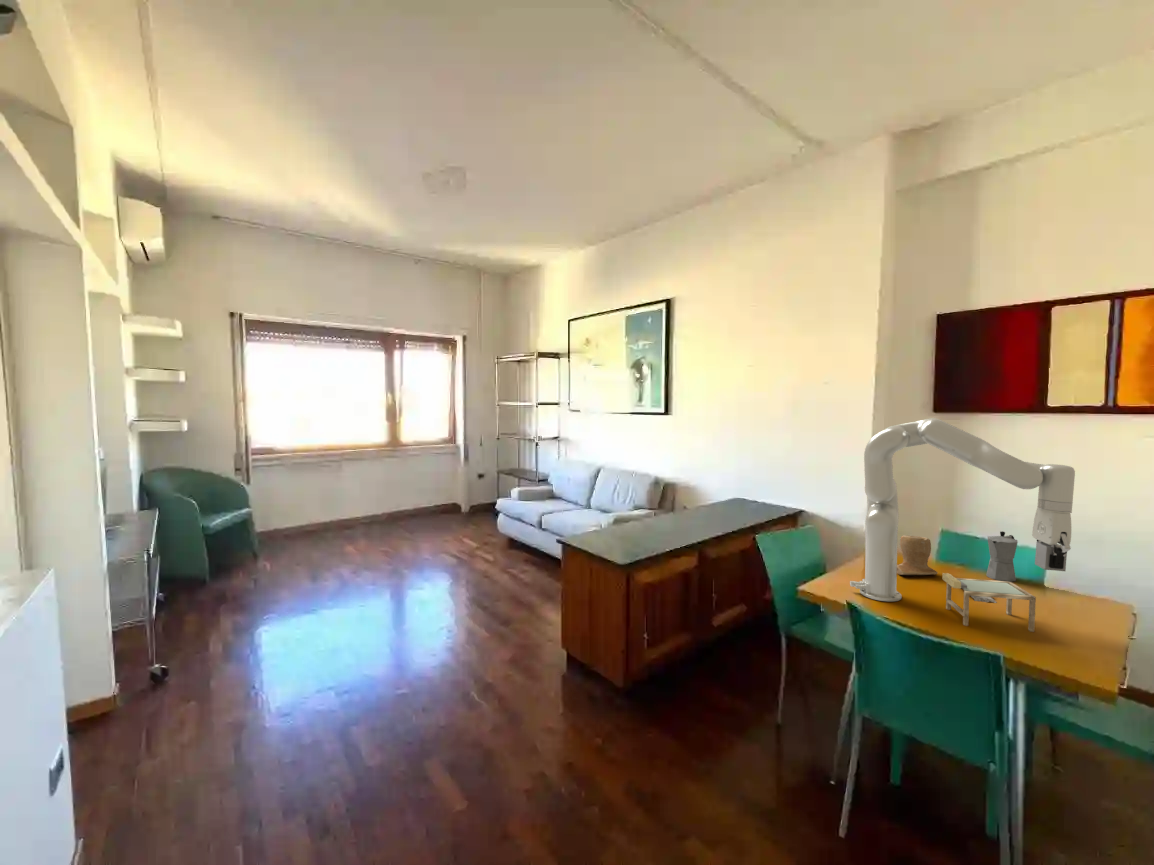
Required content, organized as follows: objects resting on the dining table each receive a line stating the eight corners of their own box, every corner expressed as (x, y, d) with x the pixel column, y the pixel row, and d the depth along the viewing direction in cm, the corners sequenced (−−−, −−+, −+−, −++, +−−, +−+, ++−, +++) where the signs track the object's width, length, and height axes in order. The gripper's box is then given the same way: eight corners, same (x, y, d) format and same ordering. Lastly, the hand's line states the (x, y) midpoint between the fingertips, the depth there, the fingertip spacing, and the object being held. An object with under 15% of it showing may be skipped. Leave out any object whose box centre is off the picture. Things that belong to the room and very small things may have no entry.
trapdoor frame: (964, 625, 153) (965, 591, 152) (945, 608, 165) (946, 577, 164) (1034, 631, 148) (1035, 597, 147) (1009, 613, 160) (1011, 581, 160)
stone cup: (921, 568, 204) (922, 531, 203) (942, 578, 193) (943, 539, 192) (884, 568, 205) (885, 532, 204) (902, 578, 193) (903, 540, 192)
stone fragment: (976, 605, 170) (1008, 606, 168) (976, 597, 169) (1008, 597, 168) (932, 578, 195) (960, 578, 193) (932, 571, 194) (960, 571, 193)
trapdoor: (954, 592, 154) (955, 582, 154) (940, 581, 164) (941, 572, 163) (1025, 598, 149) (1025, 587, 149) (1006, 586, 159) (1007, 576, 158)
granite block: (1044, 569, 150) (1046, 546, 149) (1034, 564, 154) (1036, 542, 154) (1065, 571, 148) (1067, 548, 148) (1054, 565, 153) (1056, 543, 152)
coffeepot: (1007, 584, 185) (1009, 536, 184) (977, 577, 193) (979, 531, 192) (1026, 577, 192) (1028, 531, 191) (997, 570, 200) (998, 525, 199)
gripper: (1022, 499, 159) (1018, 555, 160) (1057, 511, 143) (1052, 573, 144) (1051, 500, 157) (1047, 557, 158) (1090, 513, 141) (1085, 576, 142)
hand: (1049, 564), depth 151 cm, fingers closed on granite block, 5 cm apart
